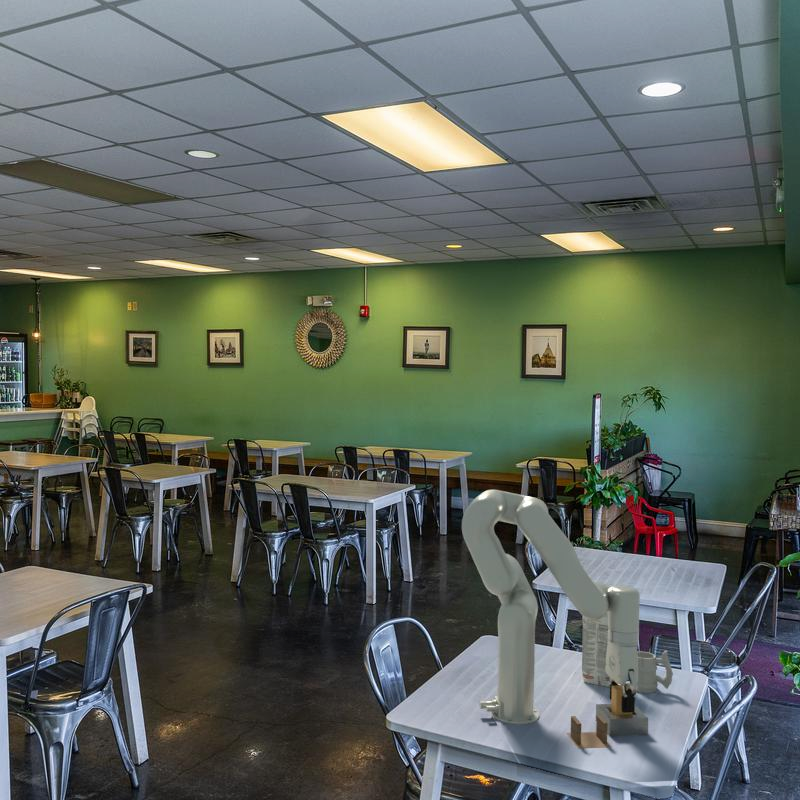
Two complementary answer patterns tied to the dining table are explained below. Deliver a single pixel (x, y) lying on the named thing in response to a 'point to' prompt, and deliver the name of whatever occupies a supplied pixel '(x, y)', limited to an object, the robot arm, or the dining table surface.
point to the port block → (623, 722)
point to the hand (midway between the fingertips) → (621, 705)
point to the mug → (652, 672)
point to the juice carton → (595, 651)
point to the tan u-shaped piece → (589, 734)
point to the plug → (618, 700)
